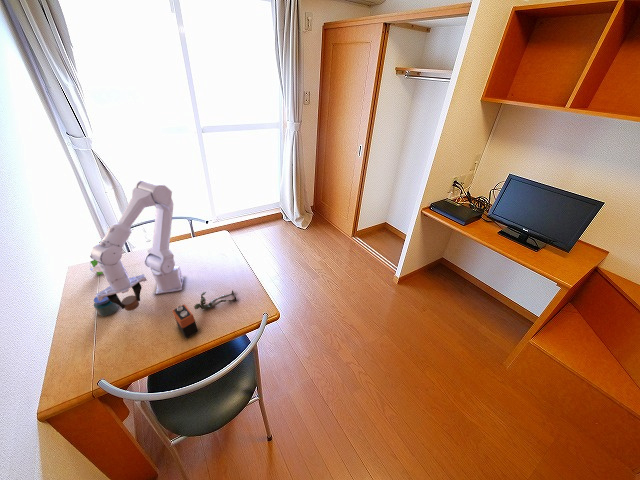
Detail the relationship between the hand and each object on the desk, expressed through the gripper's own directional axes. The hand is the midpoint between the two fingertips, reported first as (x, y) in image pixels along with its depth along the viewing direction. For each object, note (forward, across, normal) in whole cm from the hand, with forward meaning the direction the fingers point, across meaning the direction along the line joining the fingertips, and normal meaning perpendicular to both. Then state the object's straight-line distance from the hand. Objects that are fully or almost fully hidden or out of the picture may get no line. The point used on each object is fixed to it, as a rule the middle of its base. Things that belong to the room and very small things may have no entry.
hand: (130, 303), depth 97 cm
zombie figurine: (+4, +23, -18) cm, 29 cm away
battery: (+4, +10, -22) cm, 25 cm away
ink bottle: (+4, -6, +7) cm, 10 cm away
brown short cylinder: (+1, 0, 0) cm, 1 cm away
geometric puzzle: (+4, -2, +32) cm, 33 cm away
